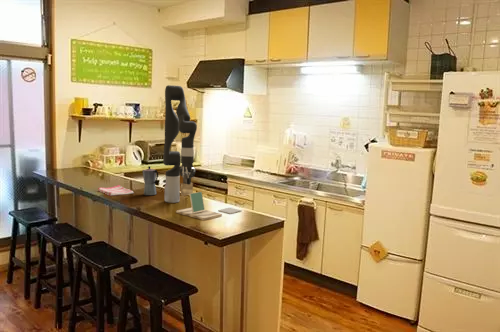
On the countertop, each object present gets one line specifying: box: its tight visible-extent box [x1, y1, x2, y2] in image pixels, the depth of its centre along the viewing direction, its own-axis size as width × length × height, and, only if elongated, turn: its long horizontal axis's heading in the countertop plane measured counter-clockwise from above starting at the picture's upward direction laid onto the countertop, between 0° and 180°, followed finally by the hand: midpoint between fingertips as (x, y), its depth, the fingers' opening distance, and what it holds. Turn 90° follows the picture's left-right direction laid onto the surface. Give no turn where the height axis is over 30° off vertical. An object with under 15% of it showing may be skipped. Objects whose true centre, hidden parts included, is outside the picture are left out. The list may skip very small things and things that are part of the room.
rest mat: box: [217, 207, 242, 215], centre depth 256 cm, size 10×10×1 cm
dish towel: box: [97, 184, 135, 197], centre depth 301 cm, size 17×23×4 cm
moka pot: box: [142, 165, 159, 196], centre depth 295 cm, size 10×15×20 cm, turn 59°
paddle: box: [180, 174, 194, 197], centre depth 250 cm, size 3×7×12 cm, turn 141°
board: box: [175, 207, 223, 221], centre depth 246 cm, size 24×14×1 cm, turn 50°
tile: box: [189, 191, 206, 213], centre depth 246 cm, size 11×9×1 cm
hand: (187, 183), depth 250 cm, fingers closed on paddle, 2 cm apart
